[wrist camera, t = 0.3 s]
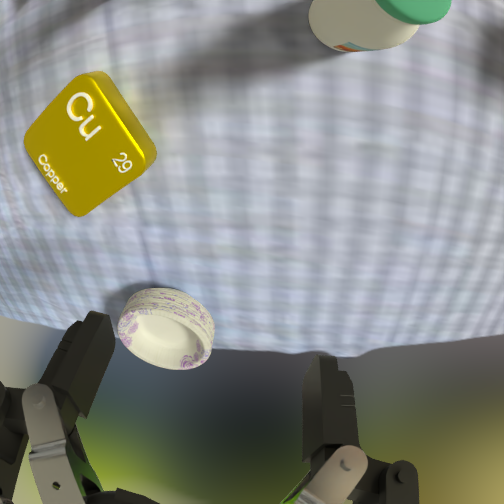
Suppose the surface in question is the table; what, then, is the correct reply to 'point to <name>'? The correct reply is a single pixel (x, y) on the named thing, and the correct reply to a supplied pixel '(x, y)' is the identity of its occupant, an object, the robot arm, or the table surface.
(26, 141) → the element tile
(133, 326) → the paper bowls
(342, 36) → the milk bottle
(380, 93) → the table surface
